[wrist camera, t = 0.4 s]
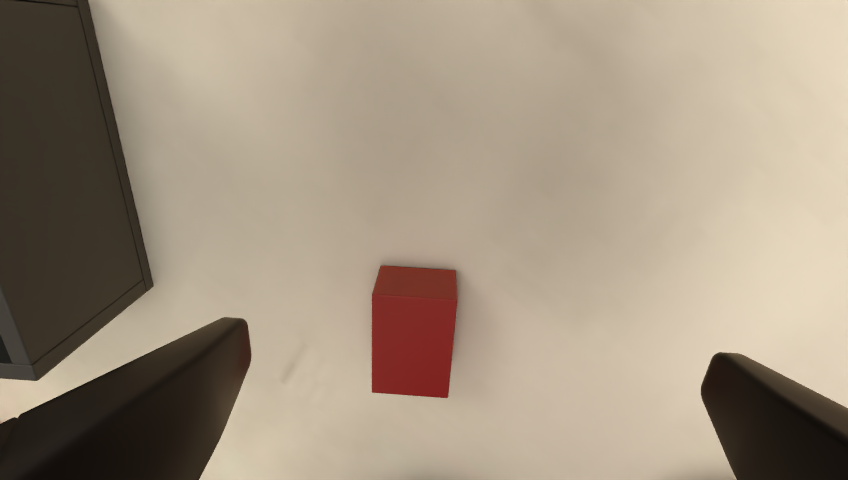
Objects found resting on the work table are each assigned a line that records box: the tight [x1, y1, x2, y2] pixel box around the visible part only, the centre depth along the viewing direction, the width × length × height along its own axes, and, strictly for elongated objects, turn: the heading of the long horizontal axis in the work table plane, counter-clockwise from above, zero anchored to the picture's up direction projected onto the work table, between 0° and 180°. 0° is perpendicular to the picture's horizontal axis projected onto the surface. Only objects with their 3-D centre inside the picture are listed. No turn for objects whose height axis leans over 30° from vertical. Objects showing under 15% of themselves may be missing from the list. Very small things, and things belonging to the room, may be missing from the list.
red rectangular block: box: [372, 266, 457, 398], centre depth 23 cm, size 6×4×3 cm, turn 177°
